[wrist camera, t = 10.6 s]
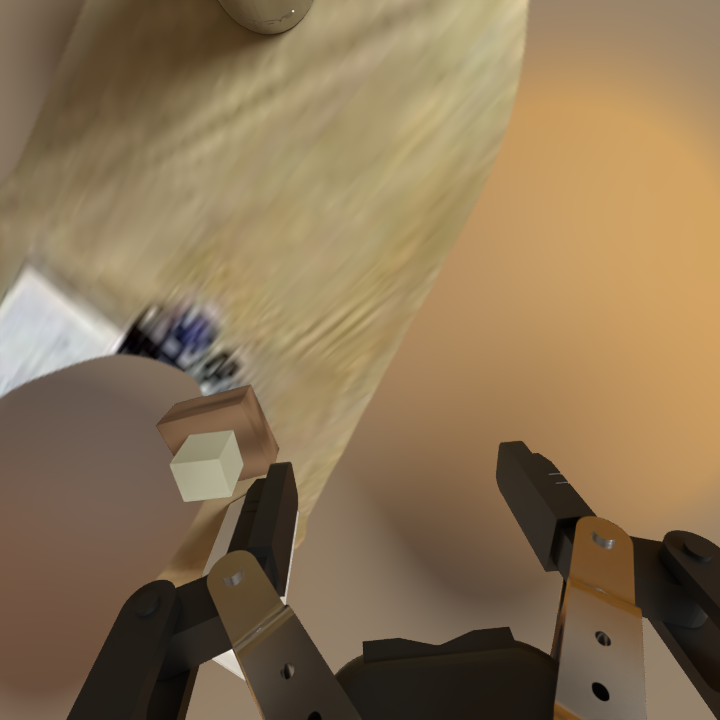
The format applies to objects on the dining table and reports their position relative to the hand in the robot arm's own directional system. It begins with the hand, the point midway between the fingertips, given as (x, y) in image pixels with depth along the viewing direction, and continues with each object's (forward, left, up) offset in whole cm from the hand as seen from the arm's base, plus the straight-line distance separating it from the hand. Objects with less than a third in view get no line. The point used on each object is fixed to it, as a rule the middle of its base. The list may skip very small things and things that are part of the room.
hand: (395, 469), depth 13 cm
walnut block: (+15, -18, -28) cm, 37 cm away
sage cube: (+15, -18, -23) cm, 33 cm away
